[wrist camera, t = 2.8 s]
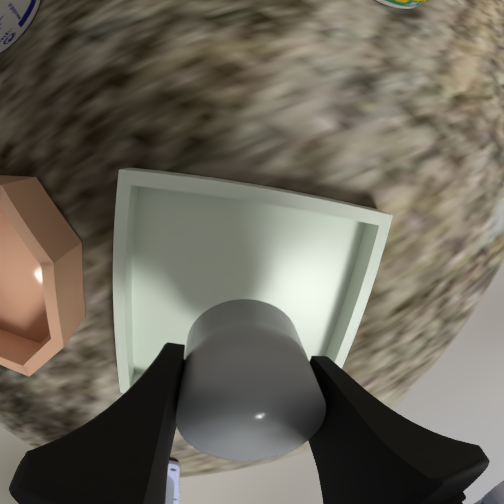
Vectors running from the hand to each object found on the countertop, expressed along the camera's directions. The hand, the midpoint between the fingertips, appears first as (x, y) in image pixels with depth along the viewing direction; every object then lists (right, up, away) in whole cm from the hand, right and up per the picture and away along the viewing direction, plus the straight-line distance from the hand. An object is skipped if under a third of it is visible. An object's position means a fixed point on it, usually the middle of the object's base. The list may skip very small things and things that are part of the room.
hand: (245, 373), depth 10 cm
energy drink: (-14, +18, -2) cm, 23 cm away
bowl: (-14, +4, +3) cm, 14 cm away
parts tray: (0, +2, +5) cm, 5 cm away
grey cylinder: (0, +1, +1) cm, 2 cm away
